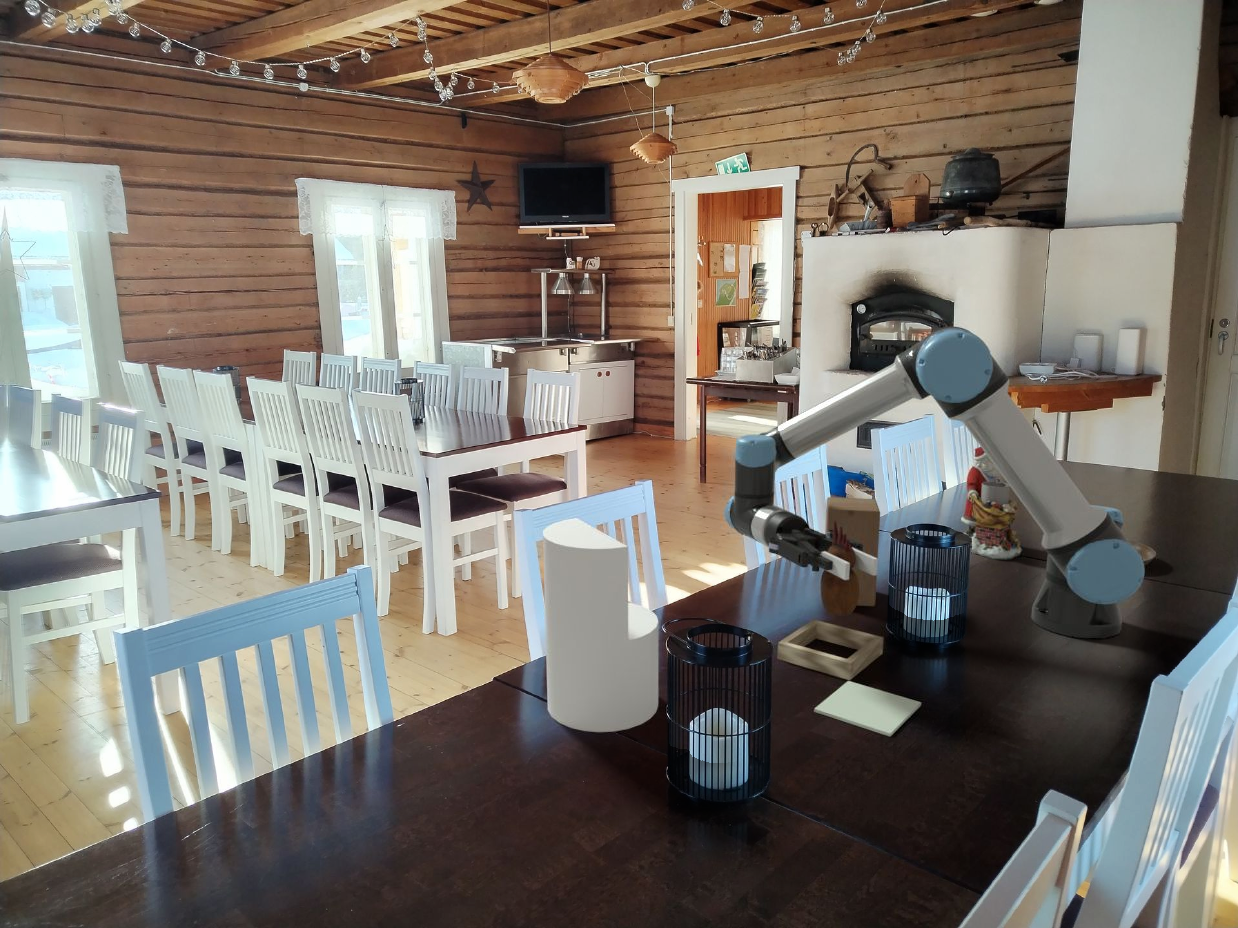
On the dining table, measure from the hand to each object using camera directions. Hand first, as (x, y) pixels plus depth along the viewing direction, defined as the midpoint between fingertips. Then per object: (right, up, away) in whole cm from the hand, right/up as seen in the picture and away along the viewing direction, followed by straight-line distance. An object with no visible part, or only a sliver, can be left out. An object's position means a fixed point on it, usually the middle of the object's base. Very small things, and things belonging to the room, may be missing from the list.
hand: (861, 569), depth 138 cm
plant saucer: (+74, -6, +66) cm, 100 cm away
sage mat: (0, -21, -3) cm, 21 cm away
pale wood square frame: (-1, -17, +15) cm, 23 cm away
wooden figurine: (-2, -8, +7) cm, 11 cm away
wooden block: (+9, -11, +44) cm, 46 cm away
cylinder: (-41, -21, -1) cm, 46 cm away
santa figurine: (+52, -4, +74) cm, 91 cm away
